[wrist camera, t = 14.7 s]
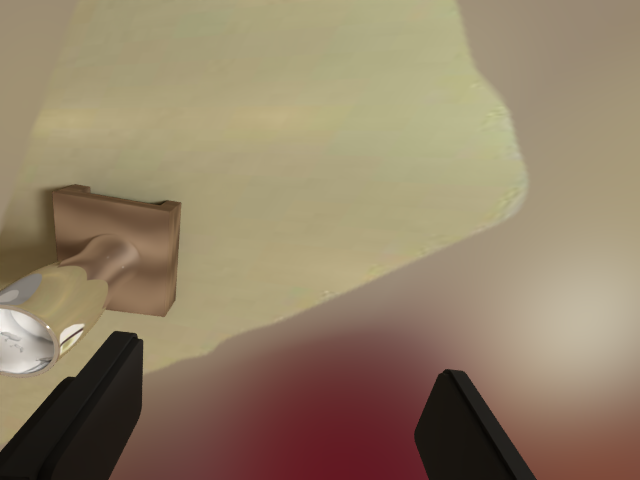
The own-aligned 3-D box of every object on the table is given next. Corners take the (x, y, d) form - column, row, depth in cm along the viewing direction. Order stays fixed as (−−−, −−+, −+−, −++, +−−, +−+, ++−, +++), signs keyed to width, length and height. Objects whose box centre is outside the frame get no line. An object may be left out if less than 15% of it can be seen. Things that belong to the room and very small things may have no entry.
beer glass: (129, 294, 40) (41, 393, 26) (71, 265, 38) (-58, 355, 24) (156, 251, 38) (76, 331, 24) (97, 218, 36) (-27, 285, 22)
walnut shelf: (75, 184, 38) (52, 191, 35) (181, 202, 40) (169, 211, 36) (80, 287, 43) (61, 304, 39) (175, 300, 45) (164, 316, 41)
